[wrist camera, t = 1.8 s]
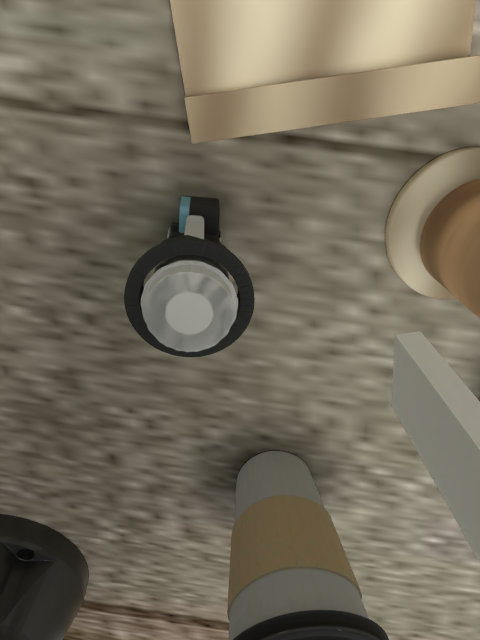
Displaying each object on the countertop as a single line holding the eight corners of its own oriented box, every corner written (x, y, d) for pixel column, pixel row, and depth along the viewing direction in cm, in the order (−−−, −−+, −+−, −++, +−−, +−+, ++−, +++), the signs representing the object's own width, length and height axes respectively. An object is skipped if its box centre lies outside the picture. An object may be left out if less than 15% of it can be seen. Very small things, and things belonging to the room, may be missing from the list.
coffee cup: (209, 513, 38) (211, 746, 25) (223, 428, 33) (233, 654, 20) (317, 517, 39) (374, 742, 26) (344, 435, 35) (429, 654, 21)
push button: (233, 299, 29) (246, 397, 20) (148, 294, 28) (122, 393, 19) (244, 194, 25) (264, 254, 17) (149, 186, 25) (118, 244, 16)
